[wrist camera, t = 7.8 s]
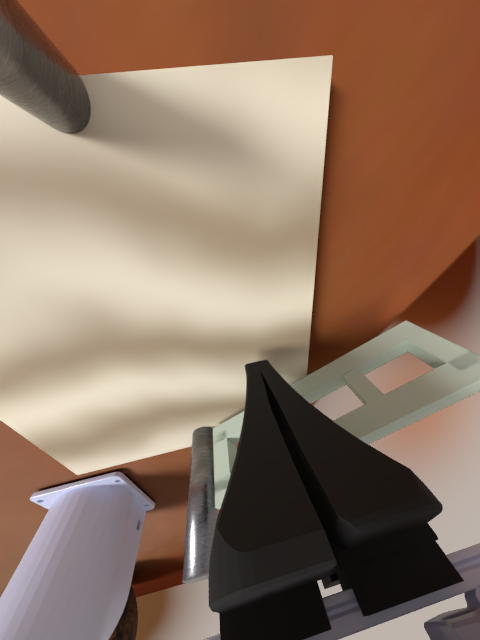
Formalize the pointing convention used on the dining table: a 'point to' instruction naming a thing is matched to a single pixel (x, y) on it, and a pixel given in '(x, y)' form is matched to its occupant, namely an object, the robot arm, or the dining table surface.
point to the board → (158, 254)
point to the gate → (373, 390)
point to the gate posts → (72, 117)
